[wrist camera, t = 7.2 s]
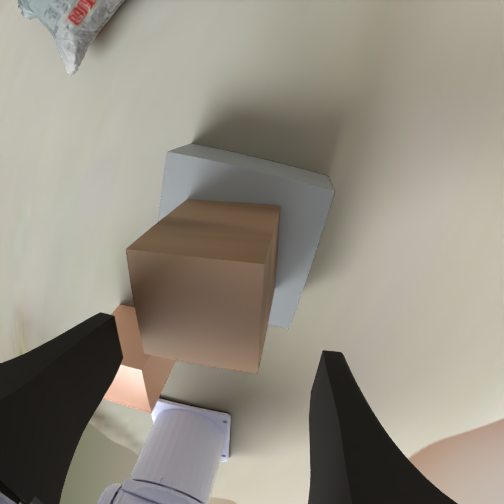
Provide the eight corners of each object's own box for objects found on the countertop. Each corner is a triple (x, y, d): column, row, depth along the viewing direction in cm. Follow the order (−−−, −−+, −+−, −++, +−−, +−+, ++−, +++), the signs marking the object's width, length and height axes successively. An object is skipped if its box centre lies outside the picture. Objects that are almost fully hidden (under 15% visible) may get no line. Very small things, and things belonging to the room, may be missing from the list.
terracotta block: (177, 358, 25) (151, 413, 20) (128, 347, 26) (96, 396, 20) (173, 314, 23) (141, 370, 18) (120, 303, 24) (81, 352, 18)
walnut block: (274, 290, 17) (257, 373, 11) (190, 280, 17) (144, 353, 12) (280, 205, 15) (264, 264, 9) (187, 198, 15) (125, 249, 10)
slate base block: (291, 292, 21) (289, 329, 18) (175, 261, 22) (152, 291, 18) (327, 174, 18) (334, 191, 14) (193, 142, 18) (167, 151, 15)
